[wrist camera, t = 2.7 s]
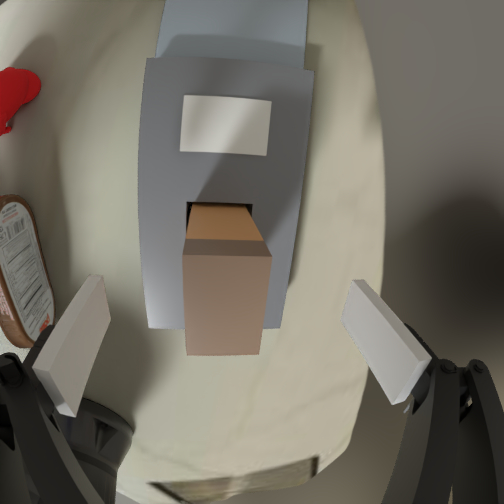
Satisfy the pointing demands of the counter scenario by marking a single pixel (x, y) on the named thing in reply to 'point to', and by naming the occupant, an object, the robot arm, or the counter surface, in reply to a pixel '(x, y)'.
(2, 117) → the cap
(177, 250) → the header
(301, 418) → the counter surface
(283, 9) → the mat
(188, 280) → the plug
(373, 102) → the counter surface
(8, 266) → the tin
